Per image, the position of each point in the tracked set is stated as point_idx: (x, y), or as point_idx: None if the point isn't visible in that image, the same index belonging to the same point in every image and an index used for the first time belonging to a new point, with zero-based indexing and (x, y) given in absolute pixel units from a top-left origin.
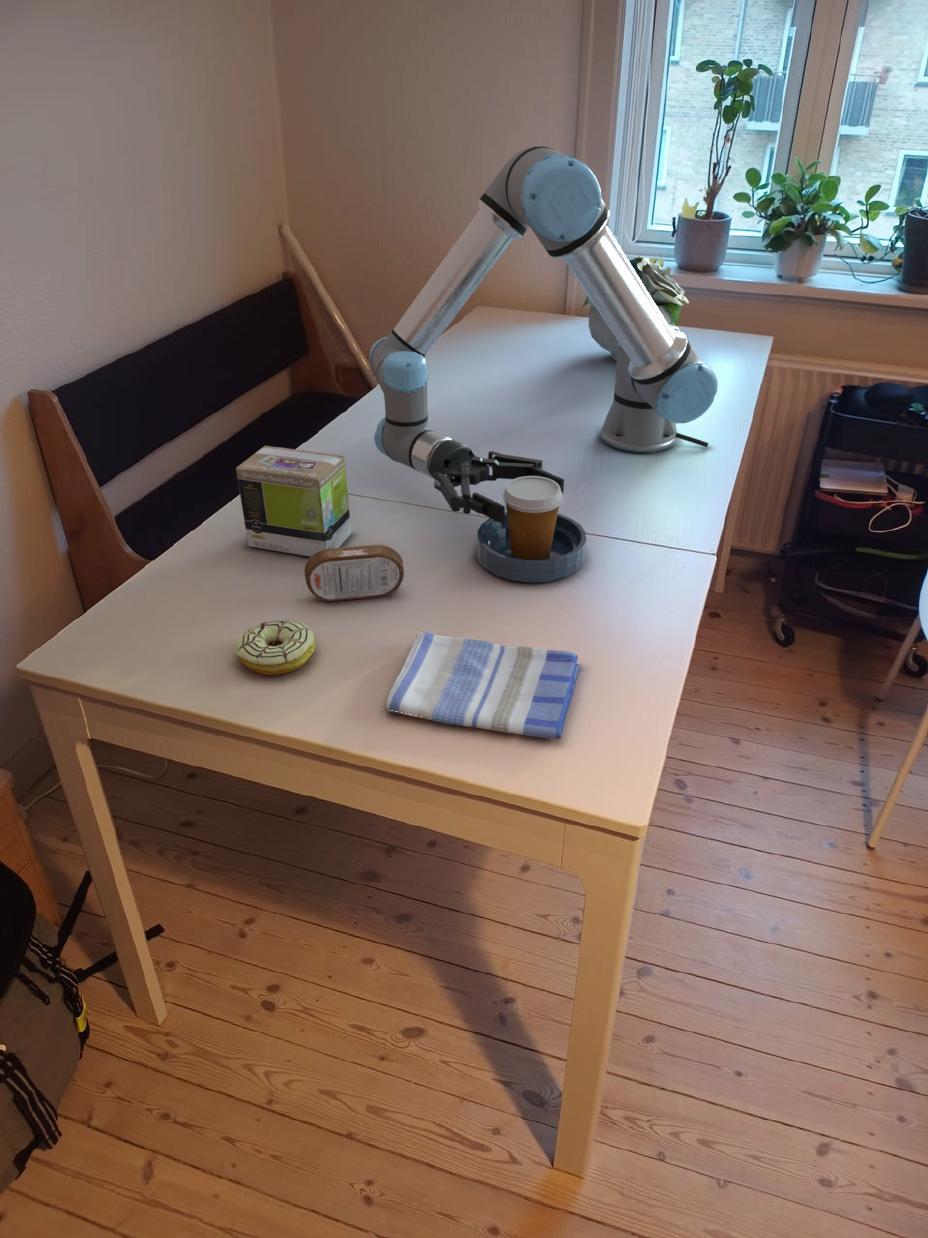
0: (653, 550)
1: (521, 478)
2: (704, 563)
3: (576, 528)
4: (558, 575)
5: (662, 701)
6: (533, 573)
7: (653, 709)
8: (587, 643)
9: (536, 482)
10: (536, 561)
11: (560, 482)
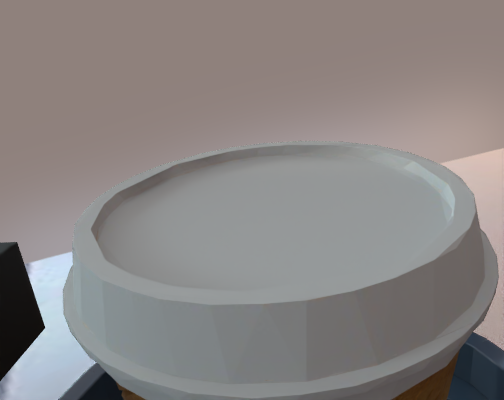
0: (46, 316)
1: (169, 291)
2: (71, 252)
3: (105, 382)
4: None
5: (456, 162)
6: None
7: (478, 160)
8: None
9: (156, 238)
10: None
11: (20, 254)
